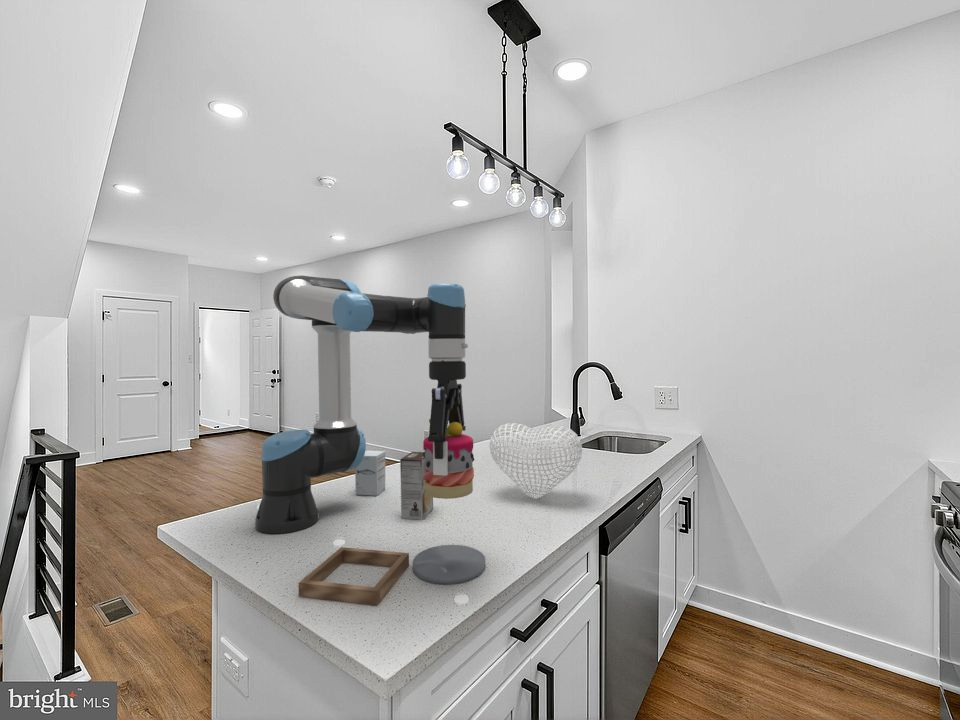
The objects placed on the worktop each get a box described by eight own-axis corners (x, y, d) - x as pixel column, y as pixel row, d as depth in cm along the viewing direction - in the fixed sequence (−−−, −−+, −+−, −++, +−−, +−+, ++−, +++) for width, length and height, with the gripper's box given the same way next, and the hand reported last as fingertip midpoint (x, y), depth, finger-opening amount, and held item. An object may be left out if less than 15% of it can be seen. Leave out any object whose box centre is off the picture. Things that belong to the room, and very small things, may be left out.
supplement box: (354, 495, 142) (354, 454, 142) (364, 488, 149) (364, 449, 149) (377, 496, 141) (376, 455, 141) (386, 489, 148) (385, 450, 148)
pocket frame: (298, 596, 84) (298, 582, 84) (341, 558, 99) (341, 547, 99) (377, 605, 80) (377, 591, 80) (409, 565, 96) (408, 553, 95)
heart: (481, 500, 137) (481, 425, 136) (501, 485, 151) (500, 418, 150) (575, 513, 125) (575, 431, 125) (587, 496, 139) (586, 423, 139)
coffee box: (412, 507, 131) (411, 451, 131) (433, 508, 130) (433, 451, 130) (400, 518, 122) (399, 458, 122) (423, 520, 121) (422, 459, 121)
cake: (475, 483, 100) (474, 414, 99) (472, 499, 89) (472, 422, 89) (427, 483, 100) (426, 414, 100) (419, 499, 90) (418, 422, 89)
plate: (401, 580, 89) (401, 574, 89) (426, 547, 104) (426, 542, 104) (476, 587, 86) (476, 581, 86) (491, 553, 101) (491, 547, 101)
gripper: (449, 361, 82) (450, 484, 83) (477, 358, 105) (478, 455, 105) (409, 361, 84) (411, 482, 84) (445, 359, 106) (446, 454, 107)
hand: (448, 467), depth 95 cm, fingers closed on cake, 10 cm apart
